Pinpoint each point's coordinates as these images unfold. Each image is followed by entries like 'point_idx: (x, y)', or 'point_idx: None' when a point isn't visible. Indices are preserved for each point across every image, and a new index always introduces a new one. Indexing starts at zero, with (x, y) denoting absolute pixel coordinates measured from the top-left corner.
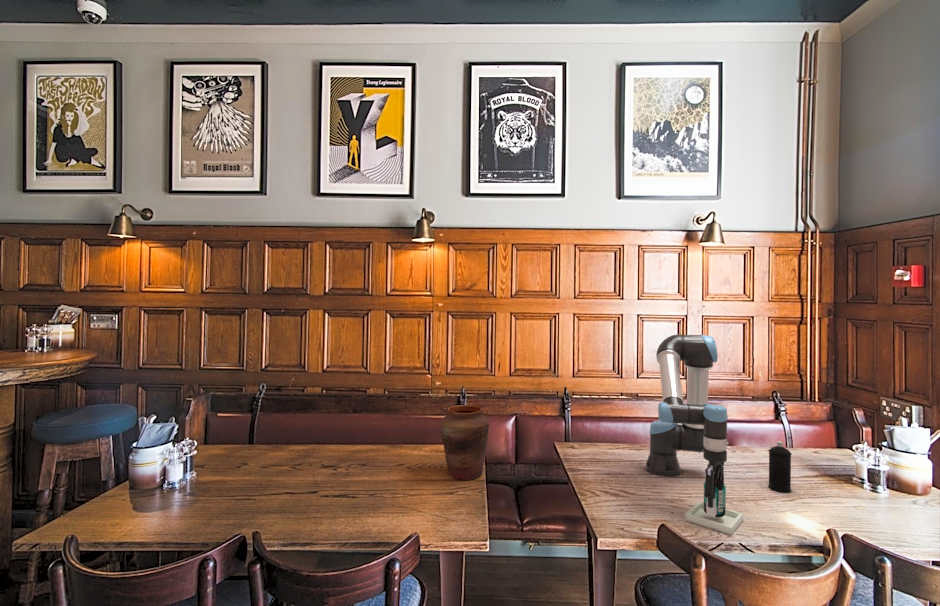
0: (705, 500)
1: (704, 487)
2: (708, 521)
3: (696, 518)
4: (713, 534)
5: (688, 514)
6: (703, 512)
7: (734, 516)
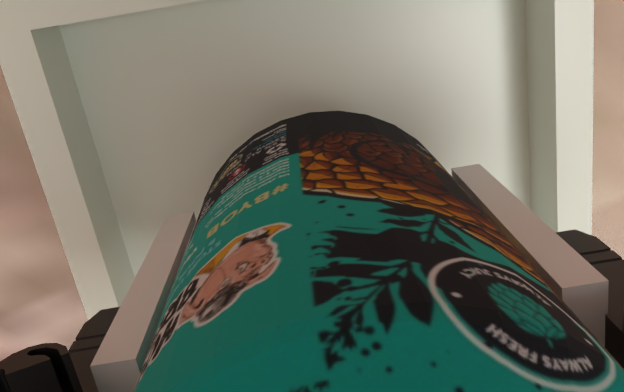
0: (187, 248)
1: (166, 359)
2: (74, 274)
3: (32, 141)
4: (22, 325)
5: (6, 29)
6: (409, 35)
7: None
